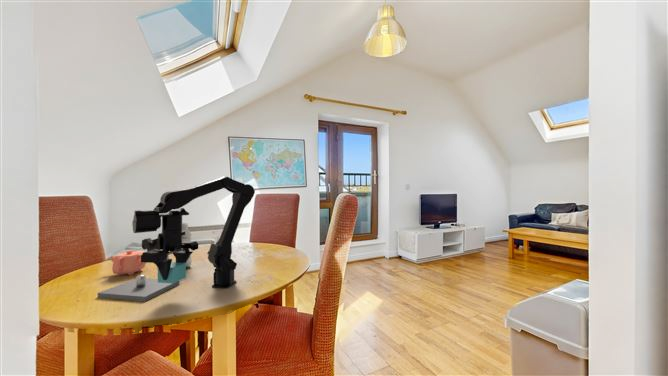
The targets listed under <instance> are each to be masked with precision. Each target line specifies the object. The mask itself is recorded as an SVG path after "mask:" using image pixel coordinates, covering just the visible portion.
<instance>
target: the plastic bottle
mask: <svg viewBox="0 0 668 376" xmlns="http://www.w3.org/2000/svg"><path fill="white" fill-rule="evenodd" d="M188 228H189V223H185V222H184V223H183V222H182V232H185V235H182V241H192V233H191V231H190V230H189V229H188ZM189 251H191V249H189ZM191 255H192V254H191ZM191 255H190V257H189V258H188V260H187V262H186V268H190V267H191V266H192V256H191ZM174 261H175V262H176V259H175V260H174Z"/></svg>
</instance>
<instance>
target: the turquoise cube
mask: <svg viewBox="0 0 668 376" xmlns="http://www.w3.org/2000/svg"><path fill="white" fill-rule="evenodd" d="M186 271H187V269H186V263H179V262H174V261H172V262H171V266H170V271H169V275H168V278H167V280H163V278H162V276H161V274H160V271H159V269H158V268H157V279H158V283H175V282H178V281H179V282H180V281H182V280H183V279H185V278H187V276H186V274H187V272H186Z"/></svg>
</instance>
